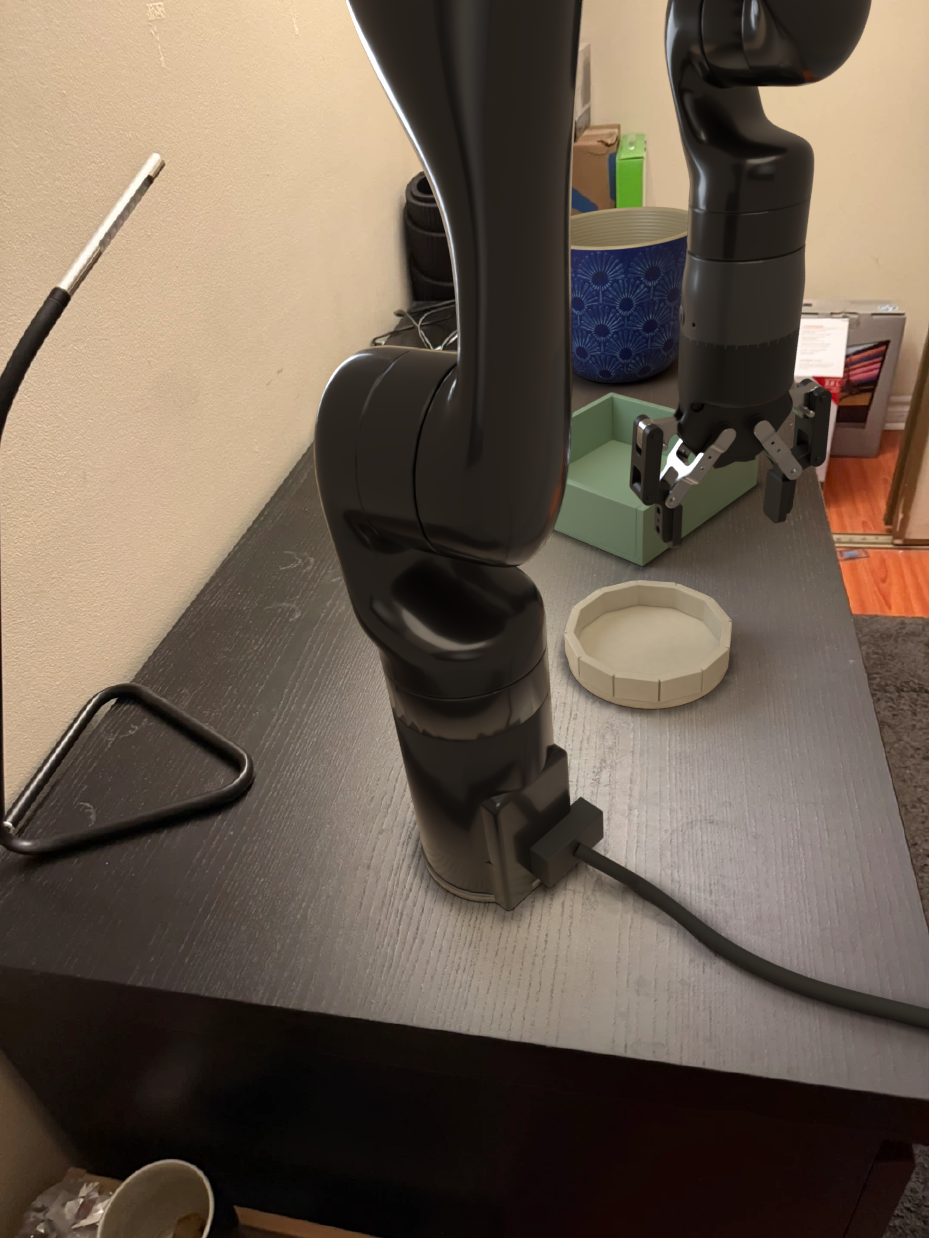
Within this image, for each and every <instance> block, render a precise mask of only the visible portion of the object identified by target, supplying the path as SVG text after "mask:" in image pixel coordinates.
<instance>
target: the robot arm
mask: <svg viewBox="0 0 929 1238" xmlns="http://www.w3.org/2000/svg"><path fill="white" fill-rule="evenodd" d="M872 1H873V0H667V3H666V7H665V14H664V23H663V24H664V25H663V49H664V60H665V66H666V74H667V77H668V82H669V89H670V93H671V99H672V103H673V107H674V112H675V116H676V123H677V126H678V132H679V137H680V143H681V147H682V152H683V155H684V160H685V163H686V168H687V172H688V179H689V181H688V182H689V188H688V189H689V191H688V201H687V202H688V205H687V206H688V207H687V211H688V228H687V252H686V261H685V267H684V273H683V279H682V288H681V306H680V309H679V321H680V336H679V355H678V365H677V367H678V368H677V372H678V373H677V392H678V403H677V406H676V408H675V409H676V410H675V412H674V414H673V416H672V417H665V418H659V419H653V420H651V419H650V418H649V417H648V416H647V415H644V414H642V415H639V416H637V417H636V418H635V420H634V422H633V435H632V450H631V466H630V482H629V486H630V489H631V490H632V491H633V492H634V493H635V494H636V496H637V497H638V498H639V499H640V500H641V501H642V503H643V504H644V505H646V506H651V505H653V504H655V513H654V517H655V518H654V522H655V523H654V530H655V532H656V534H657V535H658V536H659V537H660V539H661V540H662V541H663V542H664V543H666V544H667V545H668V546H669V549H675V548H679V547H681V546H682V539H683V538H682V514H683V506H682V505H681V504H680V503H681V501H682V500H683V499H684V497H685V496H686V494H687V493H688V492H689V490H690V489H691V487H692V486H693V485H695V484H699V483H700V482H701V481H702V480H703V478H704V477H705V476H706V474H707V473H708V471H709V470H710V469H711V467H713V468H714V469H717V468H722V467H725V466H728V465H730V464H732V463H734V462H748V461H752V460H755V458H756V456H757V455H758V454H759V455H760V454H761V453H762V455H763V456H764V457H765V459H766V460H767V461H768V462H769V463H770V465H771V466H772V468H770V469H767V470H766V477H765V487H764V496H763V504H762V511H763V513H764V515H765V516H766V518H768V519H769V520H770V521H771V522H772V523H773V524H775V525H776V524H780V523H784V522H786V520H787V516H788V514H790V513H791V512H792V510H793V508H794V502H795V501H794V500H795V493H796V485H797V480H798V478H800V476H801V475H802V473H803V471H805V470H806V469H808V468H810V467H813V468H819V467H821V466H822V465H823V464H824V463H825V461H826V459H827V451H828V443H829V432H830V431H829V430H830V421H831V408H832V401H833V400H832V399H833V393H832V392H831V391H830V390H828V389H827V388H825V386H823V385H821V384H820V383H819V382H816V381H815V380H812V379H811V378H809V377H808V378H804V379H802V380H801V381H799V383H798V385H797V387H795V388H792V387H793V385H794V384H793V383H794V381H795V380H794V379H795V370H796V363H797V355H798V346H799V337H800V330H801V329H800V328H801V322H802V315H803V314H802V313H803V306H804V305H803V304H804V297H805V289H806V246H807V245H806V241H807V235H808V226H809V220H810V219H809V218H810V210H811V201H812V194H813V186H814V176H815V153H814V149H813V146H812V145H811V143H810V142H809V141H808V140H807V139H806V138H804V137H802V136H800V135H798V134H797V133H795V132H792V131H789V130H787V129H785V128H782V127H780V126H778V125H776V124H774V123H773V122H772V121H771V120H770V119H769V118H768V116H767V115H766V113H765V109H764V106H763V103H762V97H761V94H760V89H759V87H760V88H762V87H763V88H764V87H765V88H767V87H768V88H800V87H805V86H810V85H813V84H816V83H819V82H822V81H823V80H825V79H827V78H829V77H831V76H832V75H834V74H835V73H836V72H837V71H838V70H839V69H841V68H842V66H844V64H845V63H846V62H847V61H848V60H849V58H850V57H851V56H852V54H853V52H854V51H855V49H856V48H857V46H858V44H859V42H860V41H861V38H862V36H863V34H864V32H865V28H866V25H867V23H868V19H869V17H870V12H871V6H872V3H873V2H872ZM345 5H346V7H347V9H348V12H349V15H350V18H351V21H352V24H353V27H354V29H355V31H356V34H357V37H358V39H359V42H360V44H361V46H362V48H363V50H364V53H365V55H366V57H367V59H368V62H369V63H370V65H371V68H372V70H373V72H374V74H375V77H376V78H377V80H378V83H379V85H380V87H381V89H382V90H383V93H384V95H385V97H386V98H387V100H388V103H389V105H390V106H391V107H390V108H391V109H392V111H393V112H394V115H395V116H396V118H397V120H398V122H399V124H400V126H401V128H402V130H403V132H404V134H405V135H406V138H407V139H408V141H409V143H410V145H411V147H412V150H413V151H414V153H415V155H416V157H417V159H418V162H419V164H420V166H421V169H422V171H423V173H424V175H425V176H426V180H427V181H428V184H429V186H430V189H431V192H432V194H433V197H434V200H435V202H436V205H437V208H438V209H439V214H440V216H441V220H442V224H443V228H444V231H445V236H446V241H447V247H448V250H449V256H450V262H451V271H452V279H453V288H454V297H455V298H454V299H455V312H456V336H457V337H456V339H457V347H456V349H457V350H456V351H454V350H443V349H435V348H425V347H423V348H422V347H417V346H416V347H415V346H406V345H393V344H392V345H391V344H389V345H388V344H382V345H374V346H369V347H365V348H362V349H360V350H358V351H356V352H355V353H352V354H351V355H349V356H348V357H347V358H345V359H344V360H343V361H342V362H341V363H340V364H339V366H337V368H336V369H335V370H334V371H333V372H332V374H331V376H330V377H329V378H328V380H327V383H326V385H325V386H324V389H323V392H322V394H321V397H320V400H319V403H318V407H317V410H316V415H315V421H314V432H313V462H314V472H315V480H316V485H317V490H318V495H319V496H318V497H319V499H320V504H321V508H322V512H323V515H324V519H325V523H326V526H327V529H328V534H329V536H330V539H331V542H332V546H333V549H334V552H335V556H336V558H337V562H338V565H339V568H340V572H341V575H342V578H343V582H344V584H345V588H346V591H347V595H348V597H349V601H350V605H351V607H352V610H353V613H354V617H355V618H356V621H357V623H358V624H359V626H360V628H361V629H362V631H363V632H364V634H365V635H366V636H367V638H368V639H369V640H370V641H371V643H373V644H374V645H375V647H376V648H377V653H378V655H379V656H378V657H379V660H380V663H381V668H382V671H383V672H382V673H383V677H384V680H385V685H386V689H387V694H388V699H389V705H390V707H391V712H392V717H393V718H392V719H393V722H394V727H395V731H396V735H397V740H398V744H399V749H400V753H401V757H402V763H403V766H404V772H405V776H406V780H407V784H408V789H409V792H410V793H409V794H410V798H411V802H412V806H413V811H414V816H415V821H416V823H417V827H418V828H417V829H418V833H419V837H420V844H421V846H420V847H421V852H422V857H423V861H424V865H425V867H426V869H427V870H428V871H427V872H429V874H430V875H431V876H432V878H433V879H434V881H436V882H437V884H439V886H440V887H442V888H443V889H444V890H446V891H448V892H449V893H452V894H453V895H455V896H457V897H460V898H463V899H466V900H470V901H475V902H483V903H485V902H487V903H496V904H498V905H500V906H501V907H502V908H503V909H504V910H506V911H511V910H513V909H514V908H515V907H516V906H518V904H519V903H520V902H522V901H523V900H524V899H525V898H526V897H527V896H528V895H529V894H530V893H531V892H533V890H535V889H536V888H537V887H538V886H540V885H541V884H542V883H543V884H544V885H545V886H547V888H549V889H551V888H552V887H553V886H554V885H555V884H556V883H557V882H559V881H560V880H561V879H562V878H563V877H564V876H565V875H566V874H567V873H568V872H569V871H570V870H571V869H572V868H573V867H575V865H576V864H578V863H579V862H580V861H581V862H583V863H585V864H586V865H588V866H590V867H592V868H593V869H596V870H597V871H599V872H601V873H602V874H604V875H606V876H608V877H609V878H612V879H613V880H615V881H617V882H619V883H620V884H622V885H624V886H626V887H627V888H630V889H631V890H633V891H634V892H636V893H637V894H639V895H640V896H642V897H643V898H645V899H646V900H647V901H649V902H650V903H652V904H653V905H655V906H657V907H658V908H659V909H660V910H662V911H663V912H665V913H666V914H668V916H670V917H671V918H672V919H674V920H675V921H676V922H677V923H678V924H680V925H681V926H683V927H684V928H685V929H686V930H687V931H689V932H690V933H691V934H692V935H694V936H695V937H696V938H697V939H699V940H700V941H701V942H702V943H704V944H705V945H707V946H708V947H709V948H711V949H712V950H713V951H715V952H716V953H718V954H720V955H721V956H723V957H724V958H726V959H727V960H730V961H731V962H733V963H734V964H736V965H738V966H739V967H742V968H743V969H745V970H747V971H749V972H751V973H753V974H754V975H757V976H758V977H761V978H763V979H765V980H767V981H770V982H772V983H774V984H777V985H778V986H781V987H783V988H786V989H788V990H790V991H794V992H796V993H799V994H802V995H805V996H807V997H811V998H814V999H816V1000H819V1001H822V1002H825V1003H829V1004H833V1005H835V1006H839V1007H843V1008H846V1009H851V1010H854V1011H857V1012H861V1013H862V1012H863V1013H867V1014H870V1015H874V1016H877V1017H881V1018H886V1019H889V1020H894V1021H897V1022H902V1023H905V1024H910V1025H914V1026H918V1027H922V1028H925V1029H929V1008H926V1007H923V1006H919V1005H915V1004H910V1003H907V1002H902V1001H898V1000H894V999H891V998H886V997H883V996H878V995H873V994H870V993H866V992H863V991H857V990H854V989H849V988H847V987H846V988H845V987H842V986H839V985H836V984H831V983H827V982H824V981H821V980H818V979H815V978H812V977H809V976H806V975H803V974H800V973H798V972H795V971H794V970H790V969H787V968H785V967H783V966H781V965H779V964H776V963H774V962H772V961H770V960H768V959H765V958H763V957H761V956H759V955H757V954H755V953H753V952H751V951H750V950H747V949H745V948H743V947H742V946H740V945H738V944H737V943H735V942H733V941H732V940H730V939H729V938H727V937H726V936H724V935H723V934H721V933H719V932H718V931H716V930H715V929H714V928H712V927H711V926H709V925H708V924H707V923H705V922H704V921H703V920H701V919H700V918H699V917H697V916H696V915H695V914H694V913H692V912H691V911H689V910H688V909H687V908H686V907H685V906H683V905H681V903H679V902H678V901H676V900H675V899H674V898H673V897H671V896H670V895H669V894H667V893H665V892H664V891H663V890H661V888H659V887H658V886H656V885H655V884H653V883H652V882H650V881H649V880H647V879H645V878H644V877H642V876H641V875H640V874H637V873H636V872H634V871H632V870H630V869H629V868H626V867H625V866H623V865H621V864H620V863H618V862H616V861H615V860H612V859H611V858H609V857H607V856H606V855H603V854H602V853H599V851H596V850H595V849H593V848H594V847H596V846H597V844H599V843H600V842H601V841H602V840H603V839H604V838H605V833H604V831H605V830H604V829H605V828H604V811H603V810H602V809H601V808H599V807H598V806H596V805H594V804H593V803H592V802H590V801H588V800H587V799H585V797H583V796H579V797H578V798H577V799H576V800H574V801H573V803H571V788H570V787H571V786H570V771H569V770H570V769H569V755H568V751H567V750H566V749H565V748H562V747H561V746H560V745H558V744H556V743H555V735H554V734H555V733H554V719H553V706H552V705H553V704H552V691H551V674H550V673H551V672H550V659H549V658H550V657H549V644H548V627H547V616H546V615H547V614H546V608H545V603H544V600H543V596H542V594H541V591H540V589H539V588H538V586H537V584H536V583H535V582H534V580H532V578H531V577H530V576H529V575H528V574H527V573H526V572H525V571H523V569H521V568H520V566H522V565H524V564H526V563H528V562H530V561H532V559H534V558H535V557H536V556H537V555H538V554H539V553H540V552H541V551H542V549H544V547H545V545H546V544H547V543H548V541H549V539H550V537H551V536H552V534H553V532H554V531H555V530H554V527H555V525H556V522H557V519H558V516H559V514H560V511H561V508H562V503H563V499H564V494H565V490H566V485H567V480H568V473H569V464H570V454H571V442H572V413H573V399H574V398H573V397H574V395H573V387H574V386H573V383H574V382H573V379H574V378H573V375H574V374H573V371H572V296H571V216H572V196H573V195H572V194H573V193H572V192H573V190H572V189H573V164H574V163H573V162H574V145H575V142H574V141H575V127H576V126H575V125H576V111H577V109H576V108H577V94H578V77H579V59H580V48H581V47H580V46H581V34H582V33H581V32H582V24H583V23H582V22H583V10H584V0H345ZM791 388H792V389H791ZM791 413H793V414H794V429H793V445H792V447H791V448H789V447H788V445H787V444H786V442H784V441H783V439H782V438H781V436H780V435H779V433H777V432H778V431H779V430H780V428H781V427H782V426H783V424H784V423H785V421H786V420H787V419H788V417H789V416H790V414H791ZM675 434H677V435H678V436H679V438H680V439H679V440H678V442H677V443H676V445H675V446H674V448H673V449H672V450H671V452H670V453H669V455H668V457H667V464H666V466H665V468H664V469H663V470H662V472H661V473H660V471H661V460H662V451H666V450H667V449H668V443H669V440H670V438H671V437H672V436H673V435H675ZM691 452H692V453H693V454H694V455H695V456H696V459H695V460H694V461H693V463H692V464H691V465H690V464H689V463H688V457H689V455H690V454H691Z"/></svg>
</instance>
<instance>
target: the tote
mask: <svg viewBox="0 0 929 1238" xmlns="http://www.w3.org/2000/svg"><path fill="white" fill-rule="evenodd" d="M675 410H676V408H672V407H668V406H664V405H661V404H657V403H653V402H649V401H647V400H646V401H645V400H641V399H639V398H634V397H631V396H626V395H624V394H623V395H622V394H618V393H616V392H612V391H611V392H608V393H607V394H604V395H602V396H601V397H599V398H597V399H596V400H594V401H592V402H590V403H588V404H586V405H584V406H582V407H581V408H579V409H577V410H575V411H574V412H573V411H572V442H571V454H570V464H569V473H568V480H567V485H566V490H565V494H564V499H563V503H562V508H561V511H560V514H559V516H558V519H557V522H556V525H555V527H554V530H553V531H556V532H558V533H561V534H564V535H565V536H568V537H571V538H573V539H575V540H577V541H581V542H583V543H585V544H587V545H590V546H592V547H595V548H597V549H600V550H602V551H605V552H607V553H609V554H611V555H614V556H616V557H619V558H622V559H623V560H625V561H628V562H631V563H633V564H635V565H638V566H639V567H640V566H641V567H644V566H645V565H647V564H648V563H650V562H651V561H652V560H654V559H655V558H657V557H658V556H660V555H661V554H662V553H664V552H665V551H666V550H667V549H670V547H669V546H668V545H667V544H666V543H664V542H663V541H662V540H661V539H660V537H659V536H658V535H657V534H656V532H655V530H654V523H655V522H654V518H655V517H654V513H655V504H653V505H651V506H646V505H644V504H643V503H642V501H641V500H640V499H639V498H638V497H637V496H636V494H635V493H634V492H633V491H632V490H631V489H630V486H629V482H630V466H631V450H632V435H633V422H634V420H635V418H636V417H637V416H639V415H642V414H644V415H647V416H648V417H649V418H650V419H651V420H653V419H659V418H665V417H672V416H673V414H674V412H675ZM679 439H680V438H679V436H678V435H677V434H675V435H673V436H672V437H671V438H670V440H669V443H668V449H667V450H666V451H662V460H661V471H660V473H661V472H662V470H663V469H664V468H665V466H666V464H667V457H668V455H669V453H670V452H671V450H672V449H673V448H674V446H675V445H676V443H677V442H678V440H679ZM695 459H696V456H695V455H694V454H693V453H692V452H691V454H690V455H689V457H688V463H689V464H690V465H691V464H692V463H693V461H694V460H695ZM759 461H760V454H758V455H757V456H756V458H755V460H752V461H748V462H734V463H732V464H730V465H728V466H725V467H722V468H717V469H714V468H713V467H711V469H710V470H709V471H708V473H707V474H706V476H705V477H704V478H703V480H702V481H701V482H700V483H699V484H695V485H693V486H692V487H691V489H690V490H689V492H688V493H687V494H686V496H685V497H684V499H683V500H682V501H681V503H680V504H681V505H682V506H683V514H682V538H681V539H683V538H684V537H685V536H687V535H688V534H690V533H691V532H693V531H694V530H695V529H697V528H698V527H700V526H701V525H703V524H704V523H706V522H707V521H708V520H709V519H711V518H712V517H714V516H715V515H716V514H718V513H719V512H720V511H722V510H723V509H724V508H726V507H727V506H729V505H730V504H731V503H733V502H734V501H736V500H738V498H740V497H742V496H743V495H745V493H747V492H748V491H750V490H751V489H752V488H754V487H755V486H756V485H757V481H758V472H759V471H758V470H759Z"/></svg>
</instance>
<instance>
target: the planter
mask: <svg viewBox="0 0 929 1238" xmlns="http://www.w3.org/2000/svg"><path fill="white" fill-rule="evenodd" d="M687 228H688V209H682V208H677V207H668V206H626V207H615V208H606V209H600V210H599V209H598V210H594V211H587V212H583V213H579V214H578V213H577V214H575V215H571V296H572V373H573V374H576V375H578V376H580V377H581V378H583V379H586V380H588V381H592V382H597V383H604V384H625V383H633V382H637V381H642V380H646V379H648V378H652V377H653V376H656V375H658V374H659V373H661V372H662V371H664V370H666V369H667V368H668V367H669V366H670V365H671V364H672V363H673V362H674V361H676V359H677V358H678V357H679V336H680V321H679V309H680V306H681V288H682V279H683V273H684V267H685V261H686V252H687Z"/></svg>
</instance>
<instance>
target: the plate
mask: <svg viewBox="0 0 929 1238" xmlns="http://www.w3.org/2000/svg"><path fill="white" fill-rule="evenodd" d="M732 627H733V621H732V619H731V618H730V616H729V615H728V614H727V613H726V612H725V611H724V609H723V608H722V607H721V606H720V604H719V603H718V602H717V601H716V600H715V599H714V597H711V596H710V595H707V594H705V593H703V592H701V591H699V590H698V591H697V590H696V589H693V588H691V587H688V586H686V585H683V584H681V583H676V582H672V581H658V580H644V579H637V580H636V579H633V580H629V581H625V582H621V583H617V584H612V585H607V586H604V587H599V588H597V589H596V590H594V591H593V592H592V593H590V594H589V595H587V596H586V597H585V598H583V599H582V600H580V601H579V602H578V603H576V604H575V605H573V606H572V608H571V610H570V613H569V616H568V618H567V622H566V625H565V628H564V631H563V635H564V651H565V652H564V653H565V655H566V657H567V661H568V662H567V663H568V667H569V669H570V671H571V674H573V677H574V678H575V680H577V682H579V684H580V685H581V687H583V688H584V689H585V690H587V692H589V693H591V694H593V695H595V696H596V697H598V698H600V699H602V700H604V701H607V702H609V703H612V704H615V705H618V706H623V707H627V708H634V709H645V710H648V709H649V710H653V709H654V710H655V709H656V710H658V709H669V708H675V707H678V706H683V705H686V704H689V703H692V702H694V701H696V700H699V699H701V698H703V697H705V696H706V695H708V694H709V693H711V691H713V690H714V689H715V688H716V687H717V686H718V685H719V684H720V683H721V682H722V680H723V679H724V677H725V675H726V673H727V670H728V669H729V663H730V652H731V641H732V631H733V629H732Z"/></svg>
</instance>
